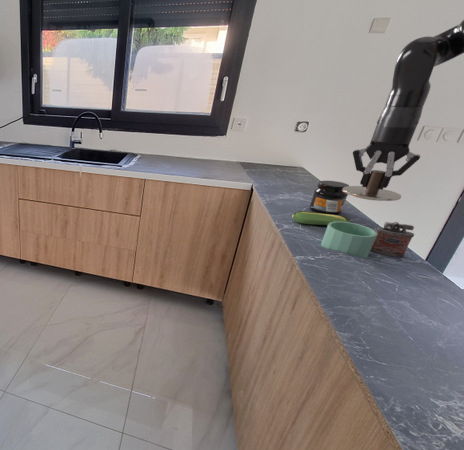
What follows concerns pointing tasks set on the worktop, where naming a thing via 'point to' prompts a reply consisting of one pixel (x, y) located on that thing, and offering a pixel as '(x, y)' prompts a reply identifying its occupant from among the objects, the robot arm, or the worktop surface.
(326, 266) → the worktop surface
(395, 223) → the lighter
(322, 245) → the green faceted pot
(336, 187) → the supplement container
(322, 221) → the edible corn
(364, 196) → the lid
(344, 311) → the worktop surface
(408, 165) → the robot arm
